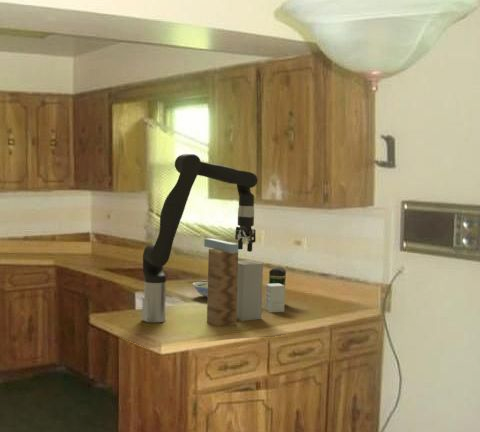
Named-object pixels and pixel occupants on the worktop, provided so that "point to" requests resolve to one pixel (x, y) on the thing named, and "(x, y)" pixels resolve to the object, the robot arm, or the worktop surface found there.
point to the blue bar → (221, 245)
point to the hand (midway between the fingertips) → (244, 250)
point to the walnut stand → (222, 288)
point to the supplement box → (274, 297)
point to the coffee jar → (277, 276)
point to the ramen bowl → (201, 287)
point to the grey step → (249, 290)
